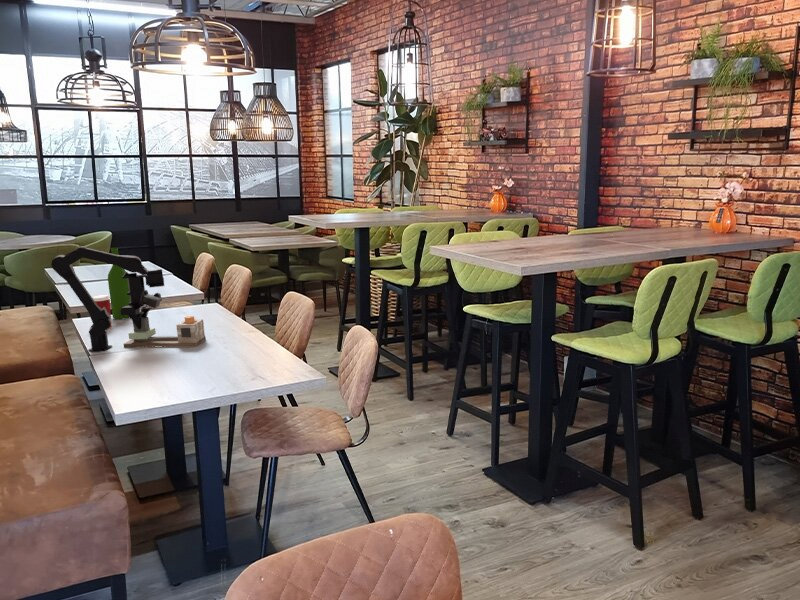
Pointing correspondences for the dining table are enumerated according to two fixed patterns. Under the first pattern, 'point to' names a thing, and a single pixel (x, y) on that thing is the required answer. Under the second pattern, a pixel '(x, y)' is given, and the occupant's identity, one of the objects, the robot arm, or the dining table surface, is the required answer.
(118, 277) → the wine bottle
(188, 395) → the dining table surface
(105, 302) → the paper cup
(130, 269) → the robot arm
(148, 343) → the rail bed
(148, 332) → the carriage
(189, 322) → the button
